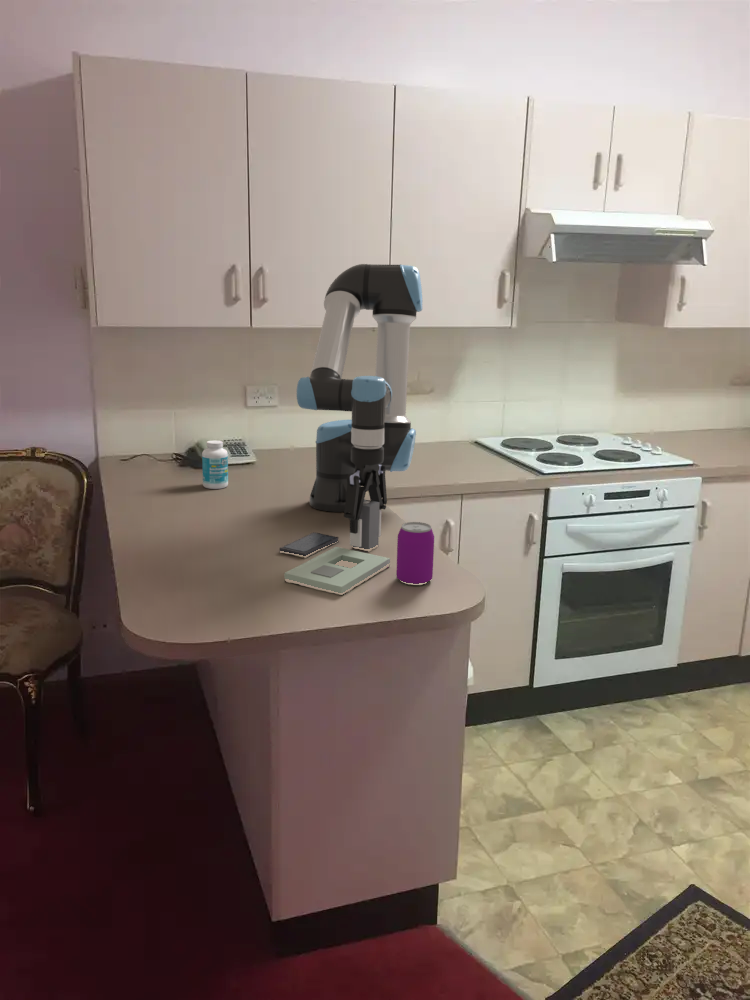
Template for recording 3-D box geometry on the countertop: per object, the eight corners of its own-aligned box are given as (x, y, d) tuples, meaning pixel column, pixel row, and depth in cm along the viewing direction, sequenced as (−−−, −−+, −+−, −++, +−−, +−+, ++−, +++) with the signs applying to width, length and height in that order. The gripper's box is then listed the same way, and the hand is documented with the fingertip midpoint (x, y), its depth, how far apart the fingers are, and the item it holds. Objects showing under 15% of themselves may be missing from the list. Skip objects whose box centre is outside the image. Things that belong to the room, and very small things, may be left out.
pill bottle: (210, 491, 236) (209, 445, 232) (198, 485, 241) (196, 441, 238) (233, 487, 240) (232, 442, 237) (220, 482, 246) (219, 438, 242)
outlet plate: (336, 554, 186) (336, 545, 185) (389, 566, 179) (390, 557, 178) (284, 581, 169) (284, 572, 168) (341, 596, 162) (341, 585, 162)
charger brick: (361, 543, 194) (362, 498, 191) (378, 547, 192) (379, 501, 189) (352, 548, 190) (352, 502, 187) (368, 552, 188) (369, 505, 185)
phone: (313, 536, 198) (313, 531, 197) (338, 542, 194) (338, 536, 194) (279, 552, 186) (279, 547, 186) (304, 558, 183) (304, 553, 182)
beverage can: (394, 574, 175) (396, 520, 172) (429, 573, 175) (432, 520, 172) (397, 587, 168) (399, 532, 164) (434, 587, 168) (437, 532, 165)
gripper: (376, 436, 195) (374, 526, 201) (328, 451, 177) (327, 549, 183) (403, 439, 191) (400, 531, 197) (357, 455, 174) (355, 556, 180)
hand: (365, 540), depth 190 cm, fingers open, 8 cm apart
